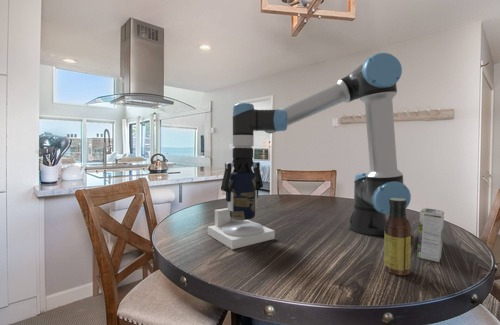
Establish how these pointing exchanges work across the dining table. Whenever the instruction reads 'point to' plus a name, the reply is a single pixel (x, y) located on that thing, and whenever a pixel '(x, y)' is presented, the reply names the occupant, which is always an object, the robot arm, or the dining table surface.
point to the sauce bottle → (397, 239)
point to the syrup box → (430, 234)
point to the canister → (243, 196)
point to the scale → (238, 230)
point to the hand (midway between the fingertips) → (242, 208)
